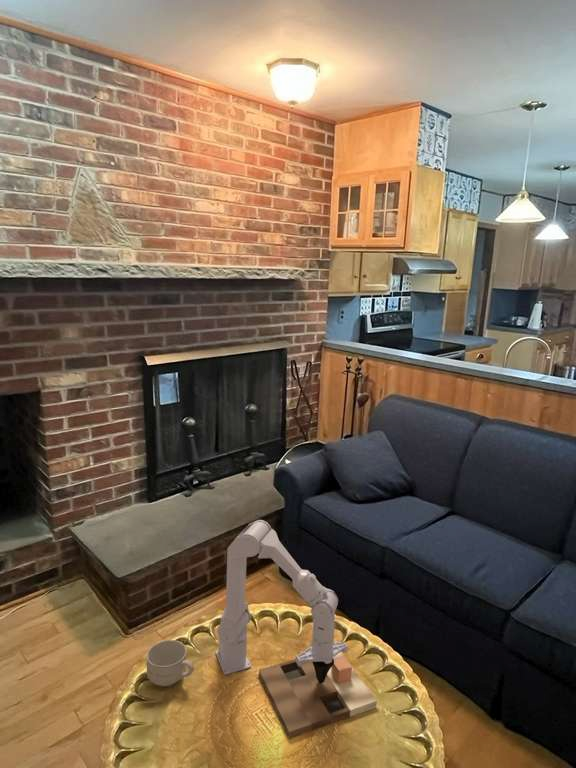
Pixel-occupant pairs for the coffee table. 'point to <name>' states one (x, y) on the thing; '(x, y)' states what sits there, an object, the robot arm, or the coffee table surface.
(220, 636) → the robot arm
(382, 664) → the coffee table surface
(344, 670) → the block
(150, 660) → the teacup
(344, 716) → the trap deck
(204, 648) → the coffee table surface
